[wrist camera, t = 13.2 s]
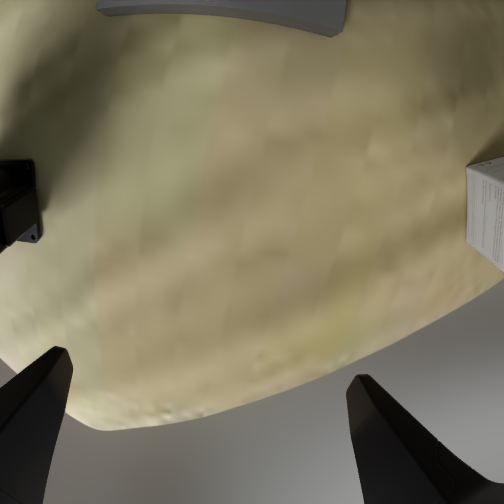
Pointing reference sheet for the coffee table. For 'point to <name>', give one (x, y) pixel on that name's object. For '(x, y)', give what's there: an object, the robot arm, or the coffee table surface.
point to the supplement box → (486, 209)
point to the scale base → (244, 11)
